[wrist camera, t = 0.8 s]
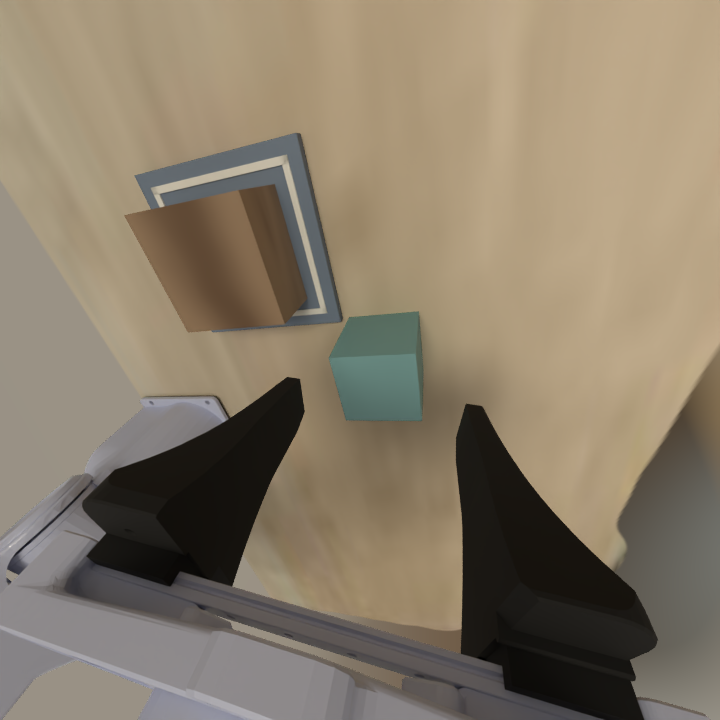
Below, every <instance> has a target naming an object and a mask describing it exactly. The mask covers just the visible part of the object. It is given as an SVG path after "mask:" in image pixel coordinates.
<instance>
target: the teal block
mask: <svg viewBox="0 0 720 720" xmlns="http://www.w3.org/2000/svg"><path fill="white" fill-rule="evenodd" d="M329 360H330V364H331V368H332V371H333V375H334V378H335V382H336V386H337V389H338V393H339V396H340V400H341V404H342V407H343V411H344V414H345V418H346V420H368V421H422V405H423V359H422V346H421V334H420V321H419V312H407V313H396V314H384V315H372V316H360V317H349V319H348V321H347V323H346V325H345V327H344V329H343V331H342V333H341V335H340V337H339V339H338V341H337V343H336V345H335V347H334V349H333V351H332V353H331V355H330V357H329Z"/></svg>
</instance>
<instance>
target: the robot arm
mask: <svg viewBox="0 0 720 720" xmlns="http://www.w3.org/2000/svg"><path fill="white" fill-rule="evenodd" d="M140 402H141V404H142V405H143V407H144V408H143V409H142V410H140V411H139V412H138V413H137V414H136V415H135V416H134V417H132V418H131V419H130V420H129V421H128V422H127V423H126V424H124V425H123V426H122V427H121V428H120V429H119V430H117V431H116V432H115V433H114V434H113V435H112V436H110V437H109V438H108V439H107V440H106V441H105V442H103V443H102V444H101V445H100V446H99V447H98V448H97V449H96V450H95V451H94V453H93V454H92V455H91V457H90V459H89V460H88V463H87V465H86V468H85V472H84V474H82V475H75V476H72V477H70V478H69V479H68V480H66V481H65V482H64V483H62V484H61V485H60V486H59V487H57V488H56V489H55V490H54V491H52V492H51V493H50V494H49V495H48V496H46V497H45V498H44V499H43V500H42V501H41V502H40V503H38V504H37V505H36V506H35V507H34V508H32V509H31V510H30V511H29V512H28V513H27V514H26V515H24V516H23V517H22V518H21V519H20V520H19V521H18V522H17V523H15V525H13V526H12V527H11V528H10V529H9V530H8V531H7V532H6V533H5V534H3V535H2V536H1V537H0V720H2V719H3V718H4V717H5V715H6V714H7V713H8V712H9V710H10V709H11V708H12V707H13V705H14V704H15V703H16V702H17V700H18V699H19V698H20V697H21V695H22V694H23V693H24V692H25V690H26V689H27V688H28V687H29V685H30V684H31V683H32V682H33V680H34V679H36V678H37V677H39V676H41V675H43V674H45V673H47V672H49V671H52V670H54V669H57V668H59V667H61V666H64V665H66V664H69V663H72V662H74V661H76V660H78V661H81V662H83V663H86V664H88V665H91V666H94V667H96V668H99V669H101V670H104V671H107V672H109V673H112V674H114V675H117V676H119V677H122V678H125V679H127V680H130V681H132V682H135V683H138V684H140V685H143V686H145V687H148V688H151V689H153V691H152V693H151V695H150V697H149V699H148V701H147V703H146V705H145V707H144V709H143V710H142V712H141V714H140V716H139V718H138V720H710V719H709V718H708V717H707V716H706V715H705V714H703V713H700V712H697V711H694V710H690V709H686V708H683V707H680V706H676V705H673V704H669V703H666V702H662V701H658V700H654V699H650V698H643V697H636V695H635V692H634V689H633V687H632V684H631V681H635V679H636V676H635V673H634V671H633V668H632V665H631V662H630V659H633V658H635V657H637V656H640V655H641V654H644V653H647V652H649V651H650V650H652V649H653V648H655V646H656V644H657V640H658V639H657V636H656V634H655V632H654V630H653V627H652V625H651V623H650V620H649V618H648V616H647V614H646V611H645V609H644V607H643V606H642V604H641V602H640V600H639V598H638V596H637V594H636V592H635V591H634V590H633V589H632V588H631V587H630V586H629V585H628V584H627V583H625V582H624V581H623V580H622V579H621V578H620V577H619V576H618V575H617V574H615V573H614V572H613V571H612V570H611V569H610V568H609V567H608V566H606V565H605V564H604V563H603V562H602V561H601V560H600V559H599V558H598V557H597V556H596V555H594V554H593V553H592V552H591V551H590V550H589V549H588V548H587V547H586V546H585V545H584V544H583V543H582V542H581V541H580V540H579V539H578V538H577V537H576V536H575V535H574V534H573V533H572V532H571V531H570V529H569V528H568V527H567V526H566V525H565V524H564V523H563V522H562V521H561V520H560V519H559V518H558V517H557V515H556V514H555V513H554V512H553V511H552V510H551V509H550V508H549V506H548V505H547V504H546V503H545V502H544V501H543V499H542V498H541V497H540V496H539V494H538V493H537V492H536V491H535V489H534V488H533V487H532V486H531V484H530V483H529V482H528V480H527V479H526V478H525V476H524V475H523V474H522V472H521V471H520V469H519V468H518V466H517V465H516V463H515V462H514V461H513V459H512V457H511V456H510V454H509V453H508V451H507V450H506V448H505V446H504V445H503V443H502V441H501V440H500V438H499V436H498V435H497V433H496V431H495V429H494V428H493V426H492V424H491V422H490V420H489V418H488V416H487V414H486V412H485V410H484V408H483V407H482V406H478V405H471V404H466V405H465V409H464V412H463V416H462V419H461V423H460V426H459V430H458V433H457V437H456V465H457V475H458V484H459V494H460V503H461V512H462V531H463V591H462V635H461V654H460V653H456V652H453V651H449V650H446V649H443V648H439V647H436V646H432V645H429V644H425V643H422V642H419V641H415V640H412V639H408V638H405V637H402V636H398V635H395V634H391V633H388V632H385V631H381V630H378V629H374V628H371V627H368V626H364V625H361V624H357V623H354V622H351V621H347V620H343V619H340V618H337V617H334V616H330V615H327V614H323V613H320V612H317V611H313V610H310V609H306V608H303V607H300V606H296V605H293V604H289V603H286V602H283V601H279V600H276V599H272V598H269V597H265V596H262V595H259V594H255V593H252V592H248V591H245V590H242V589H238V588H235V587H232V585H233V582H234V579H235V576H236V573H237V570H238V567H239V564H240V561H241V557H242V555H243V552H244V549H245V546H246V543H247V541H248V538H249V535H250V532H251V530H252V527H253V524H254V522H255V519H256V516H257V514H258V511H259V509H260V506H261V504H262V501H263V499H264V496H265V494H266V492H267V489H268V487H269V484H270V482H271V480H272V478H273V476H274V474H275V472H276V470H277V468H278V466H279V465H280V463H281V461H282V459H283V457H284V455H285V453H286V452H287V450H288V448H289V446H290V444H291V442H292V440H293V438H294V437H295V435H296V433H297V431H298V428H299V426H300V423H301V420H302V418H303V415H304V412H305V410H304V404H303V397H302V390H301V383H300V379H297V378H290V377H287V378H285V379H284V380H283V381H281V382H280V383H279V384H277V385H276V386H275V387H273V388H272V389H271V390H269V391H268V392H267V393H265V394H264V395H263V396H261V397H260V398H259V399H257V400H256V401H255V402H253V403H252V404H251V405H249V406H248V407H246V408H245V409H243V410H242V411H240V412H239V413H237V414H236V415H234V416H233V417H231V418H230V419H228V417H227V415H226V413H225V412H224V410H223V408H222V406H221V404H220V403H219V401H218V399H217V398H216V397H213V396H198V397H143V398H142V399H141V400H140ZM7 569H8V570H10V571H12V572H14V573H16V574H18V576H17V578H15V580H14V581H12V582H11V581H10V580H9V579H8V578H6V570H7ZM215 615H216V616H215ZM218 616H220V617H223V618H226V619H229V620H232V621H236V622H239V623H242V624H245V625H248V626H251V627H254V628H257V629H261V630H264V631H267V632H270V633H274V634H276V635H280V636H283V637H286V638H289V639H292V640H295V641H299V642H302V643H305V644H308V645H311V646H315V647H318V648H321V649H324V650H327V651H330V652H333V653H337V654H340V655H343V656H346V657H349V658H353V659H356V660H359V661H362V662H365V663H368V664H371V665H375V666H378V667H381V668H384V669H387V670H391V671H394V672H397V673H400V674H403V675H406V676H409V677H405V678H404V679H403V680H402V689H400V688H397V687H395V686H392V685H390V684H387V683H385V682H382V681H380V680H377V679H375V678H372V677H370V676H367V675H364V674H362V673H360V672H357V671H354V670H352V669H349V668H347V667H344V666H341V665H339V664H336V663H334V662H331V661H328V660H326V659H323V658H321V657H318V656H315V655H312V654H309V653H306V652H303V651H300V650H296V649H293V648H290V647H287V646H284V645H281V644H278V643H275V642H272V641H268V640H265V639H262V638H259V637H256V636H253V635H250V634H247V633H244V632H240V631H236V630H234V629H232V626H231V623H230V622H228V621H226V620H224V619H222V618H220V617H218ZM410 677H413V678H410Z"/></svg>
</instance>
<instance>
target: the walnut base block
mask: <svg viewBox="0 0 720 720" xmlns="http://www.w3.org/2000/svg"><path fill="white" fill-rule="evenodd" d="M124 216H125V218H126V220H127V221H128V223H129V225H130V227H131V229H132V231H133V232H134V234H135V236H136V238H137V240H138V242H139V243H140V245H141V247H142V249H143V251H144V253H145V254H146V256H147V258H148V260H149V262H150V264H151V265H152V267H153V269H154V271H155V273H156V275H157V276H158V278H159V280H160V282H161V284H162V286H163V287H164V289H165V291H166V293H167V295H168V297H169V298H170V300H171V302H172V304H173V306H174V308H175V309H176V311H177V313H178V315H179V317H180V319H181V320H182V322H183V324H184V326H185V328H186V330H187V331H188V332H199V331H211V330H223V329H235V328H247V327H259V326H271V325H283V324H286V322H287V321H288V320H289V319H290V318H291V317H292V316H293V314H294V313H295V312H296V311H297V310H298V309H299V308H300V306H301V305H302V304H303V303H304V302H305V301H306V300H307V295H306V292H305V288H304V285H303V281H302V278H301V274H300V271H299V267H298V264H297V260H296V257H295V253H294V250H293V246H292V243H291V239H290V236H289V232H288V229H287V225H286V222H285V218H284V215H283V211H282V208H281V204H280V201H279V197H278V194H277V190H276V187H275V184H272V185H266V186H260V187H254V188H248V189H242V190H236V191H232V192H227V193H223V194H218V195H214V196H209V197H205V198H200V199H196V200H191V201H187V202H182V203H178V204H173V205H169V206H164V207H160V208H155V209H151V210H146V211H142V212H137V213H133V214H128V215H124Z"/></svg>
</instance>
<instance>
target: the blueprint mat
mask: <svg viewBox="0 0 720 720" xmlns="http://www.w3.org/2000/svg"><path fill="white" fill-rule="evenodd" d="M135 178H136V180H137V182H138V184H139V186H140V188H141V190H142V192H143V194H144V196H145V198H146V200H147V202H148V204H149V206H150V208H151V209H155V208H160V207H164V206H169V205H173V204H178V203H182V202H187V201H191V200H196V199H200V198H205V197H209V196H214V195H218V194H223V193H227V192H232V191H236V190H242V189H248V188H254V187H260V186H266V185H272V184H275V187H276V190H277V194H278V197H279V201H280V204H281V208H282V211H283V215H284V218H285V222H286V225H287V229H288V232H289V236H290V239H291V243H292V246H293V250H294V253H295V257H296V260H297V264H298V267H299V271H300V274H301V278H302V281H303V285H304V288H305V292H306V295H307V300H306V301H305V302H304V303H303V304H302V305H301V306H300V308H299V309H298V310H297V311H296V312H295V313H294V314H293V316H292V317H291V318H290V319H289V320H288V321H287V322H286V324H283V325H271V326H259V327H247V328H235V329H223V330H211V331H212V332H223V331H235V330H247V329H260V328H272V327H284V326H296V325H309V324H321V323H333V322H341V320H342V313H341V309H340V305H339V300H338V296H337V292H336V287H335V283H334V279H333V274H332V270H331V266H330V261H329V257H328V252H327V248H326V244H325V239H324V235H323V231H322V226H321V222H320V218H319V213H318V209H317V205H316V200H315V196H314V191H313V187H312V183H311V178H310V174H309V170H308V165H307V161H306V157H305V152H304V148H303V144H302V139H301V135H300V134H299V133H294V134H290V135H286V136H283V137H279V138H275V139H271V140H267V141H264V142H260V143H256V144H252V145H249V146H245V147H241V148H237V149H233V150H230V151H226V152H222V153H218V154H214V155H211V156H207V157H203V158H199V159H196V160H192V161H188V162H184V163H180V164H177V165H173V166H169V167H165V168H161V169H158V170H154V171H150V172H146V173H143V174H139V175H135Z"/></svg>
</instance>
